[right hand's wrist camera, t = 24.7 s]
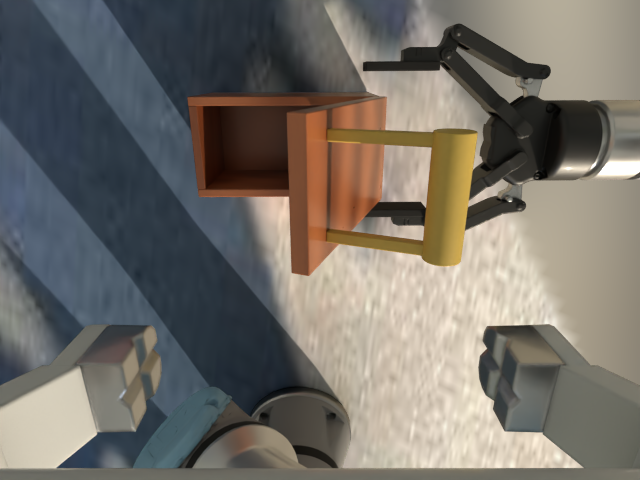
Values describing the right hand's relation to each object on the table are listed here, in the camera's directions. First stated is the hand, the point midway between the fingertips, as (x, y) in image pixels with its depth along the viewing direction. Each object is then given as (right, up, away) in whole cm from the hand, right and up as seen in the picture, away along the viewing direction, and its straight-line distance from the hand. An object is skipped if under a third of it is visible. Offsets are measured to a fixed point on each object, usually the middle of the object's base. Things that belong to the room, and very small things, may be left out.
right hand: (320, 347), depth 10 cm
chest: (-3, +15, +37) cm, 40 cm away
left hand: (+4, +12, +30) cm, 33 cm away
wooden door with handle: (+2, +8, +20) cm, 22 cm away
